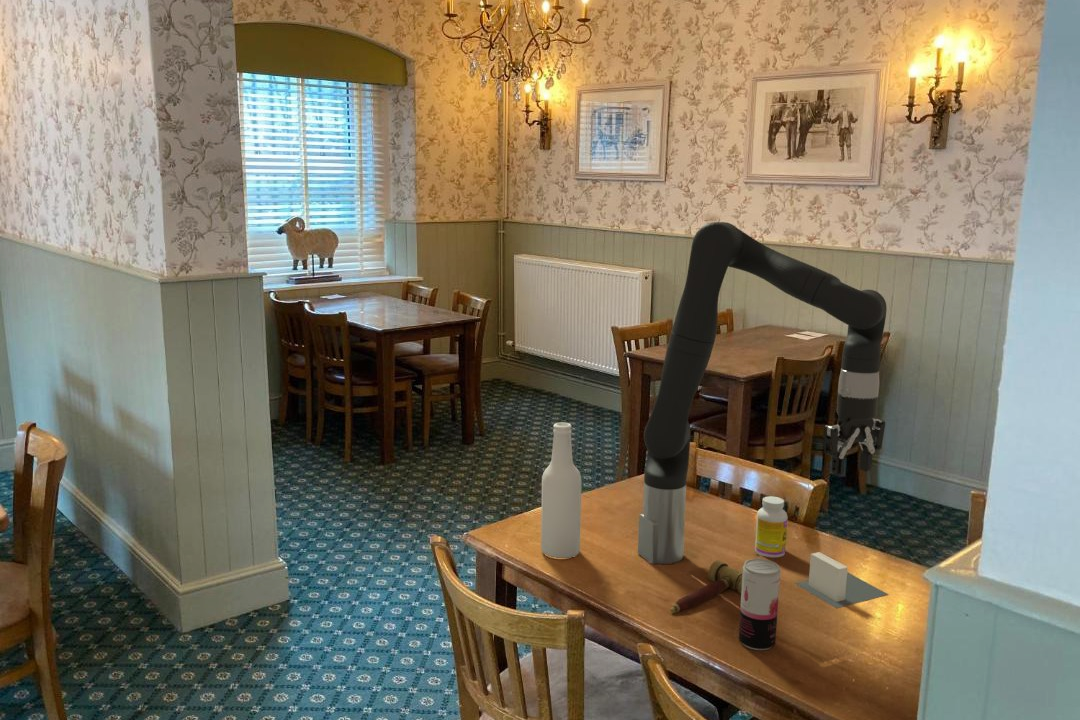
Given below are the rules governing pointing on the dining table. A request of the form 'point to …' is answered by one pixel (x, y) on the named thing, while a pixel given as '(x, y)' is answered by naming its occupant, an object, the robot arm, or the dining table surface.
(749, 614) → the beverage can
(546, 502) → the alcohol
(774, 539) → the supplement bottle
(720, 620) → the dining table surface
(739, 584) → the gavel
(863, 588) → the mat
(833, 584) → the tile
